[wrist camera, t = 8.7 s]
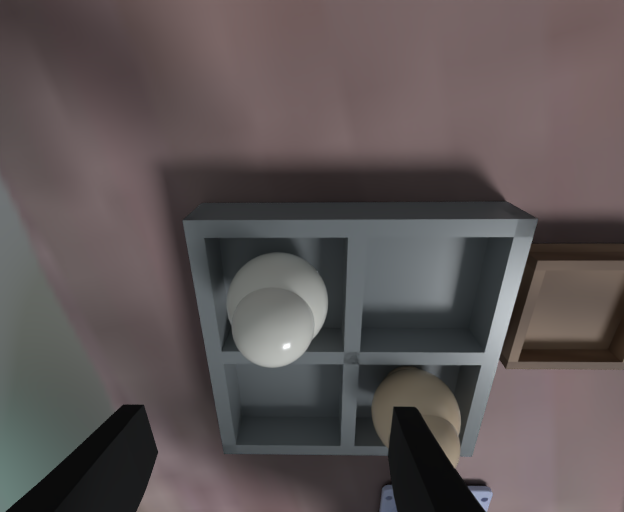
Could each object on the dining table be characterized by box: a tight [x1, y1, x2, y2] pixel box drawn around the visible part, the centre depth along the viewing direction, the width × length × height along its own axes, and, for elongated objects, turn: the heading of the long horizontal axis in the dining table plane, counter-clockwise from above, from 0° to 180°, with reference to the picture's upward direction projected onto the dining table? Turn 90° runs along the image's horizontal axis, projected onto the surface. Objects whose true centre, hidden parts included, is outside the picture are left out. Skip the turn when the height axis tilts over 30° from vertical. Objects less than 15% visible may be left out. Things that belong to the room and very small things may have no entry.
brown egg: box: [371, 366, 461, 468], centre depth 18 cm, size 5×5×6 cm
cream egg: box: [226, 252, 328, 368], centre depth 15 cm, size 5×5×6 cm
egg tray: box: [183, 202, 538, 457], centre depth 19 cm, size 15×15×3 cm
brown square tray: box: [499, 243, 624, 370], centre depth 18 cm, size 6×6×2 cm
